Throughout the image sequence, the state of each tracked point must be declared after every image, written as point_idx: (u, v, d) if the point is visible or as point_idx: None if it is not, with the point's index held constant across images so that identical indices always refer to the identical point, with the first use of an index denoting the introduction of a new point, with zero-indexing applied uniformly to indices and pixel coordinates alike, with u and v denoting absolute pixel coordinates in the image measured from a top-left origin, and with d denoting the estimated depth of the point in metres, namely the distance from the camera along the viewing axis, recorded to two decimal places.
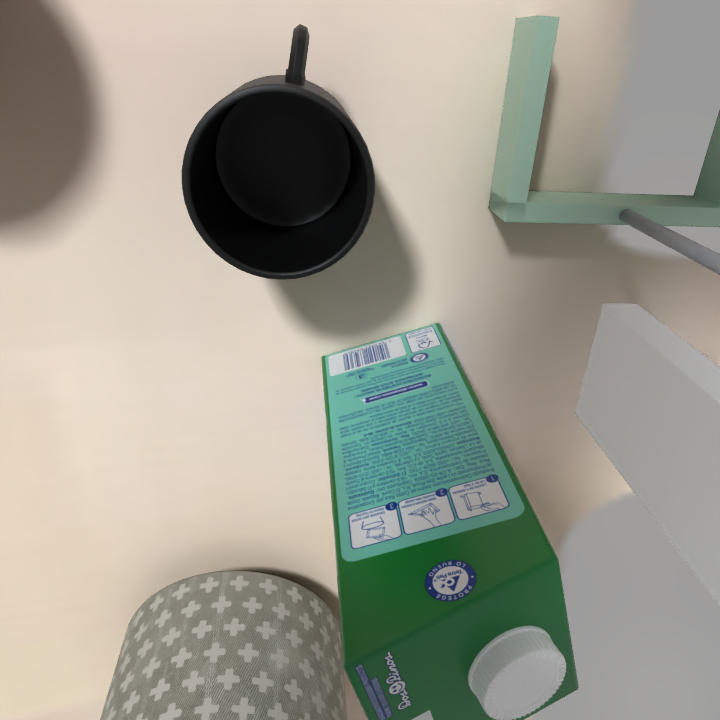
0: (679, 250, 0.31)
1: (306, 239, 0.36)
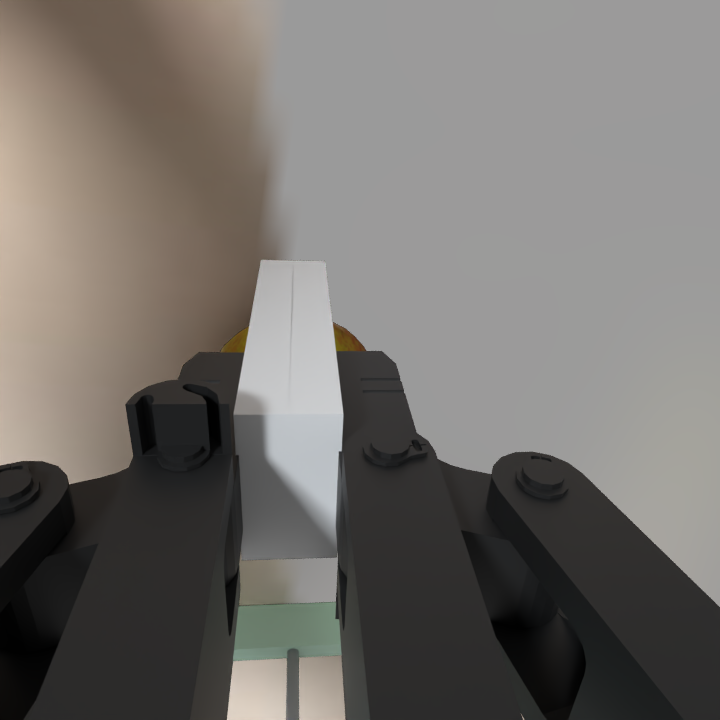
0: None
1: None
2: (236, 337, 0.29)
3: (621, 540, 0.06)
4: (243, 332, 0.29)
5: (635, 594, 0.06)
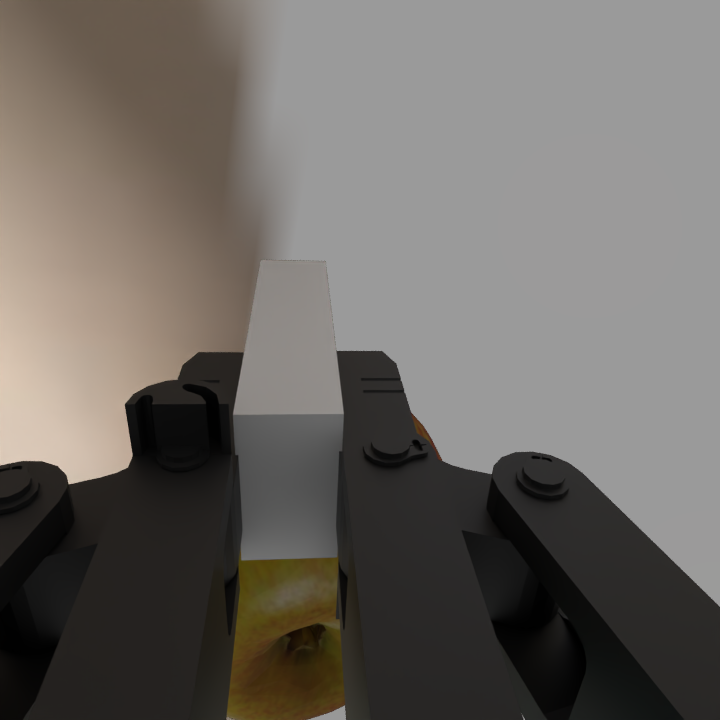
0: None
1: None
2: None
3: (622, 540, 0.06)
4: None
5: (635, 594, 0.06)
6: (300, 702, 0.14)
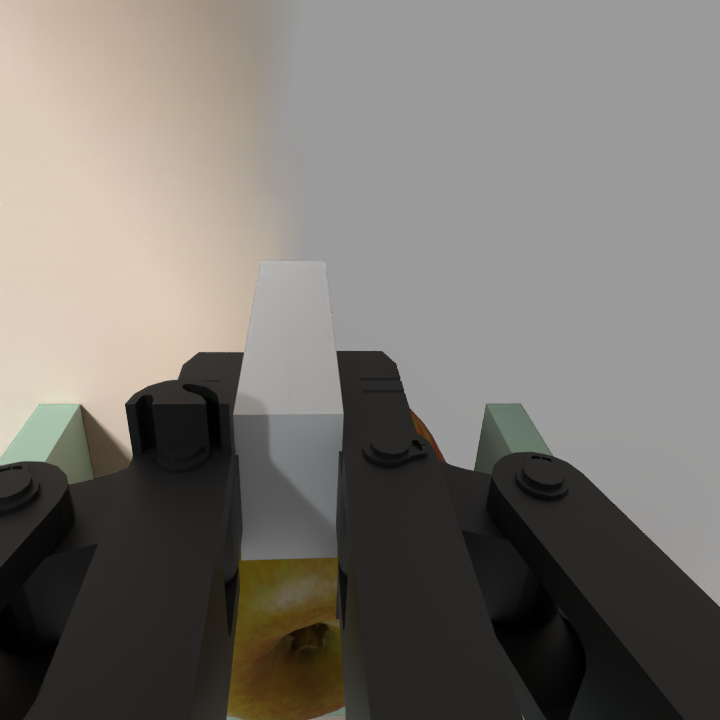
0: None
1: None
2: None
3: (621, 540, 0.06)
4: None
5: (635, 594, 0.06)
6: (304, 701, 0.14)
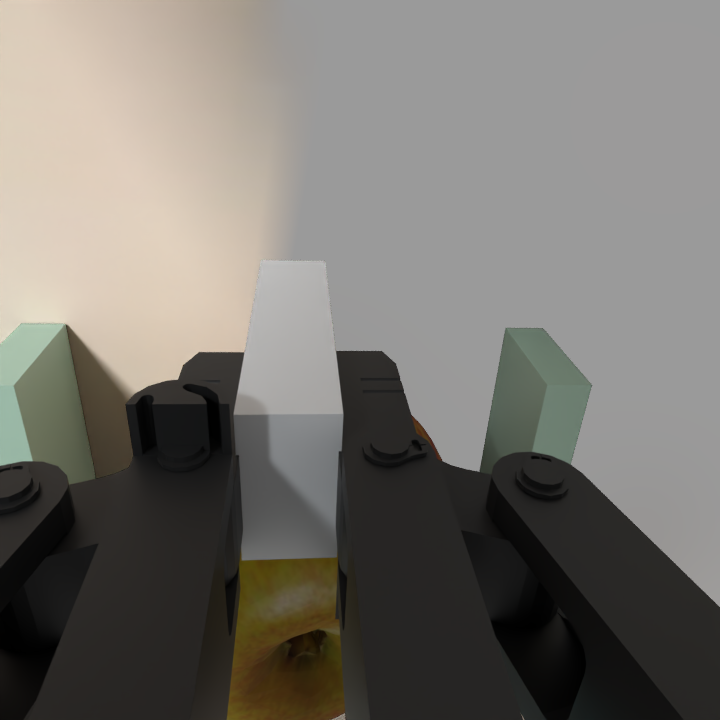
0: None
1: None
2: None
3: (619, 540, 0.06)
4: None
5: (635, 594, 0.06)
6: (302, 709, 0.14)
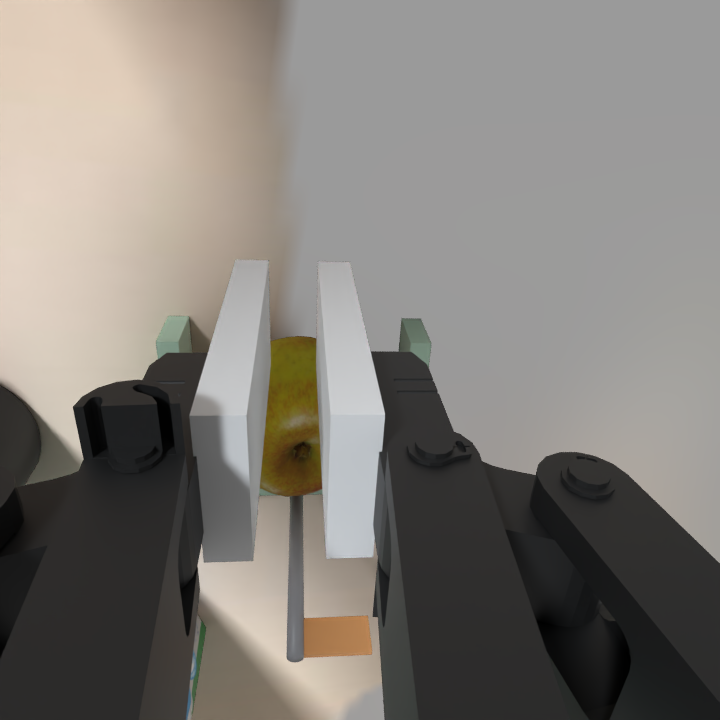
0: None
1: None
2: None
3: (668, 542, 0.06)
4: None
5: (683, 595, 0.06)
6: (300, 479, 0.33)
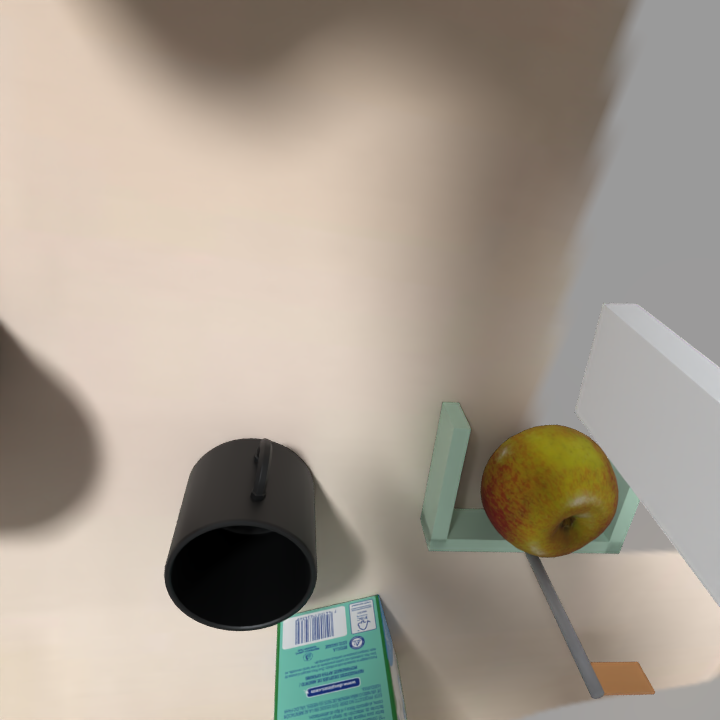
0: (556, 620, 0.40)
1: (265, 564, 0.44)
2: (518, 443, 0.41)
3: None
4: (523, 440, 0.41)
5: None
6: (564, 545, 0.40)
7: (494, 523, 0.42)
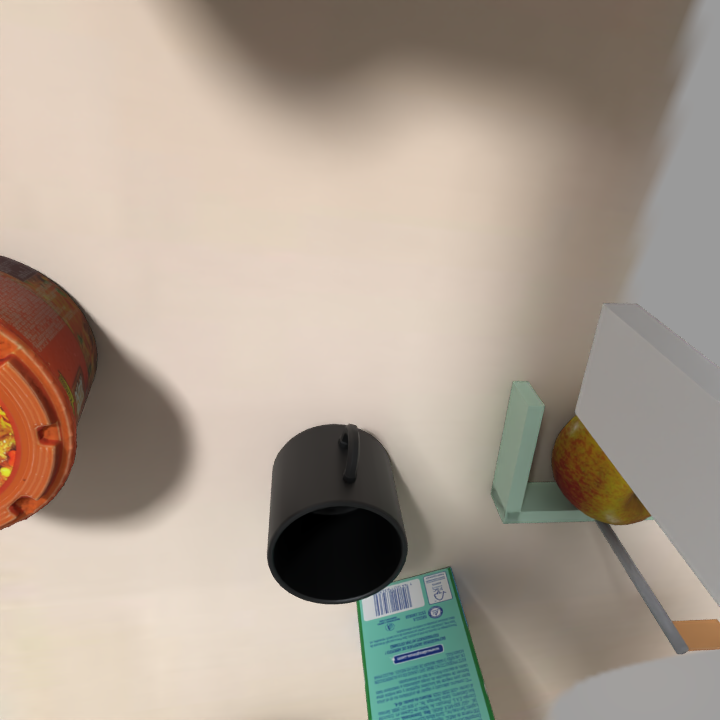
0: None
1: (350, 542, 0.46)
2: None
3: None
4: None
5: None
6: (639, 513, 0.42)
7: (568, 494, 0.44)
